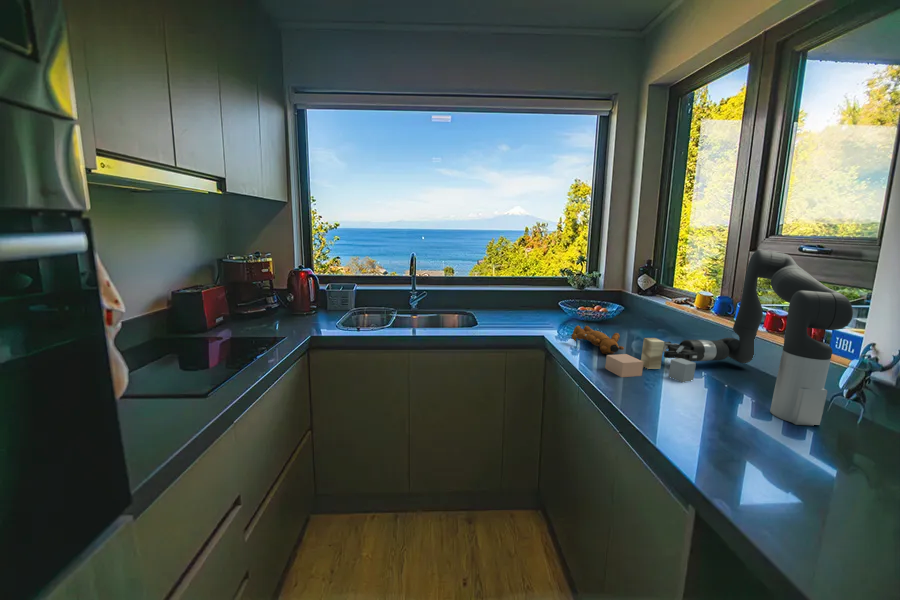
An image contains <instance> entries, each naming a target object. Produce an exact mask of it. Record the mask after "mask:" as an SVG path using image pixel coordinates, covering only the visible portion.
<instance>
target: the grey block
mask: <svg viewBox="0 0 900 600" xmlns="http://www.w3.org/2000/svg"><path fill="white" fill-rule="evenodd" d="M696 364H697V362H695V361H688V360H685V359H682V358H679V359H676V358H671V360H670V365H669V370H668V378H669V377H671V378H670V379H672V378H674V379H673V380H675V379H676V380H675V381H677V380H678V381H677V382H680V381H681V383H682V382H684V383H686V382H685V381H690V382H692V381H691V380H693V381H694V378H695V372H696V366H697V365H696Z"/></svg>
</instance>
